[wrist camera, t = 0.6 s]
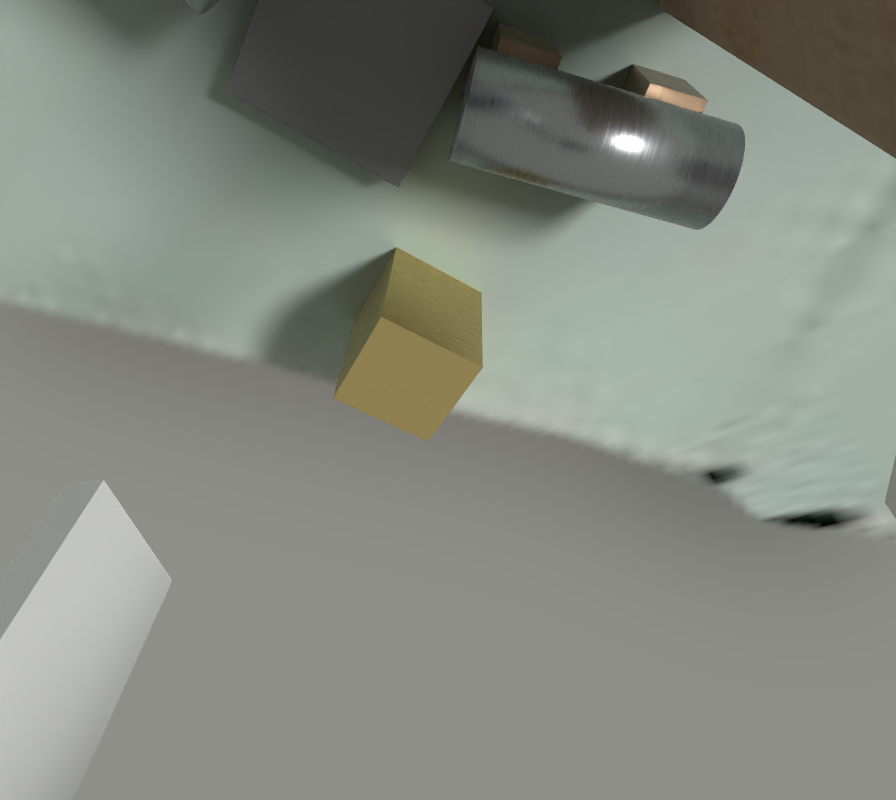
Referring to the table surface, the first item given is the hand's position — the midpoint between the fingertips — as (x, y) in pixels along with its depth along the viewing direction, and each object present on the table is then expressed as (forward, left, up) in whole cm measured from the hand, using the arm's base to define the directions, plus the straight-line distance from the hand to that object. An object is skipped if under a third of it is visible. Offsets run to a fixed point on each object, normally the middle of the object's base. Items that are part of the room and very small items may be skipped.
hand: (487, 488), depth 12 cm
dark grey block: (-6, 0, -24) cm, 24 cm away
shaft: (+3, +3, -24) cm, 24 cm away
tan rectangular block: (+2, -10, -24) cm, 26 cm away
